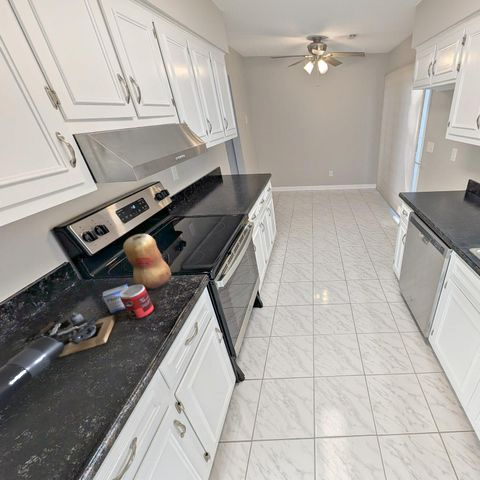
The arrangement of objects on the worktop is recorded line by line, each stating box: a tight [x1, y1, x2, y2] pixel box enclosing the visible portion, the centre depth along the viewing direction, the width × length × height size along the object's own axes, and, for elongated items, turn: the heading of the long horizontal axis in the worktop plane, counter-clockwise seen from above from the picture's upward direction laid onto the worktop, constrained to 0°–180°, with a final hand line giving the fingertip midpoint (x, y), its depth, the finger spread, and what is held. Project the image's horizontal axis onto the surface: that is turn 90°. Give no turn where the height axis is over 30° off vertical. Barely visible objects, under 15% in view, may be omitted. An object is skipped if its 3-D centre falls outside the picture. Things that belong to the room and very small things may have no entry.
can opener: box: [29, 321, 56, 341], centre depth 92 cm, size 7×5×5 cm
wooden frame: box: [57, 314, 117, 358], centre depth 88 cm, size 13×13×2 cm
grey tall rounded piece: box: [70, 312, 97, 341], centre depth 86 cm, size 6×6×12 cm
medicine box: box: [102, 283, 129, 314], centre depth 101 cm, size 8×4×9 cm, turn 126°
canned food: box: [119, 284, 154, 320], centre depth 96 cm, size 8×8×11 cm
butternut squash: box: [122, 233, 172, 290], centre depth 109 cm, size 14×13×25 cm
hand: (84, 317), depth 87 cm, fingers open, 8 cm apart
